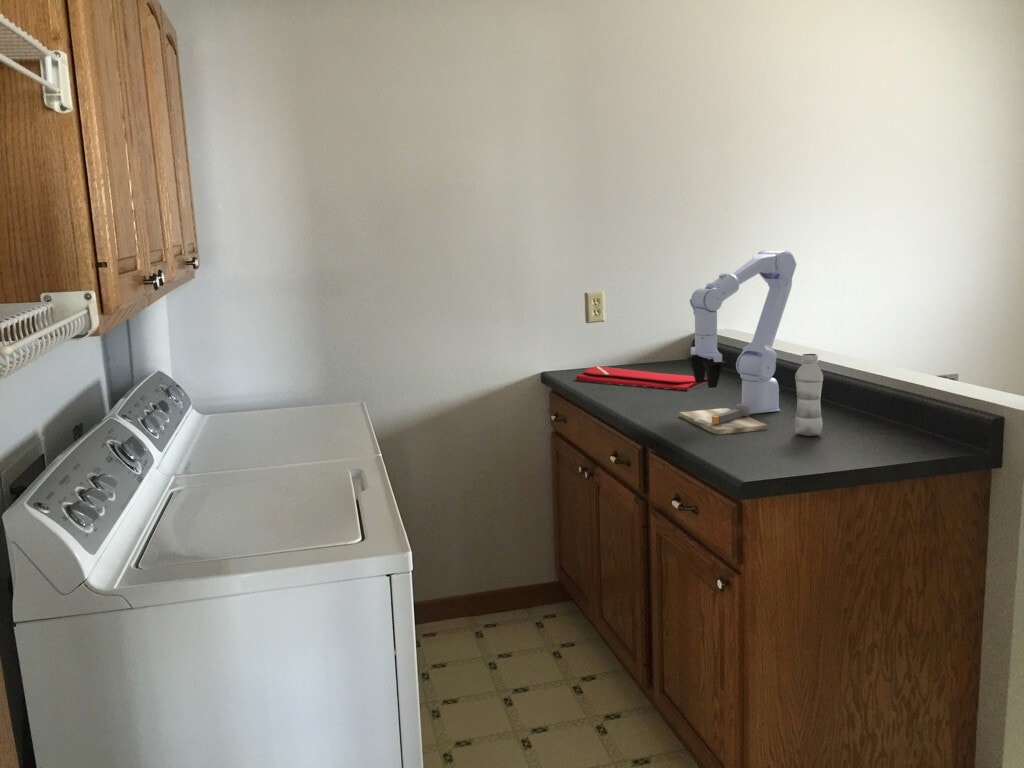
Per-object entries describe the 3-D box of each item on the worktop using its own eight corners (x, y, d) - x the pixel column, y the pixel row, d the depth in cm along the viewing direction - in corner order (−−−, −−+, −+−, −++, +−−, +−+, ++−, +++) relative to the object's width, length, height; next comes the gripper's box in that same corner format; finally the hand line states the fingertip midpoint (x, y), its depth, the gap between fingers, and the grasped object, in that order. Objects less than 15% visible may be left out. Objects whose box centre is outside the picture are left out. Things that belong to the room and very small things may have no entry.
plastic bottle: (808, 440, 217) (810, 357, 213) (788, 434, 223) (789, 354, 219) (828, 436, 220) (830, 354, 216) (807, 430, 226) (809, 351, 222)
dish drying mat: (687, 393, 280) (687, 381, 279) (575, 382, 304) (574, 371, 303) (708, 384, 292) (708, 373, 292) (599, 375, 316) (599, 364, 316)
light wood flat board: (726, 412, 250) (727, 407, 249) (769, 430, 227) (769, 425, 227) (676, 416, 246) (676, 411, 246) (715, 436, 224) (715, 430, 224)
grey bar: (740, 412, 241) (740, 402, 241) (752, 414, 238) (752, 404, 238) (707, 422, 231) (707, 412, 231) (719, 424, 229) (719, 414, 228)
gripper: (680, 332, 244) (680, 381, 247) (704, 338, 230) (704, 391, 233) (704, 330, 246) (704, 379, 248) (729, 336, 232) (729, 388, 235)
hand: (706, 384), depth 241 cm, fingers open, 7 cm apart
